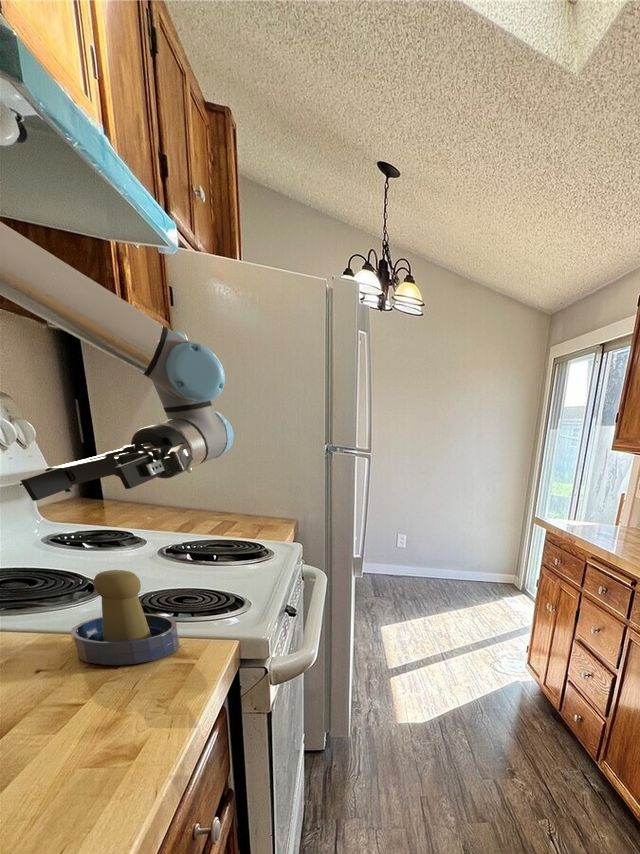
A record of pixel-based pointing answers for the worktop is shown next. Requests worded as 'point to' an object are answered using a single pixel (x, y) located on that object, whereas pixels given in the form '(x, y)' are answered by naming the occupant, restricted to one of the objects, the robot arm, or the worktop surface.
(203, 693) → the worktop surface
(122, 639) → the cork
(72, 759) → the worktop surface
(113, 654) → the bowl
